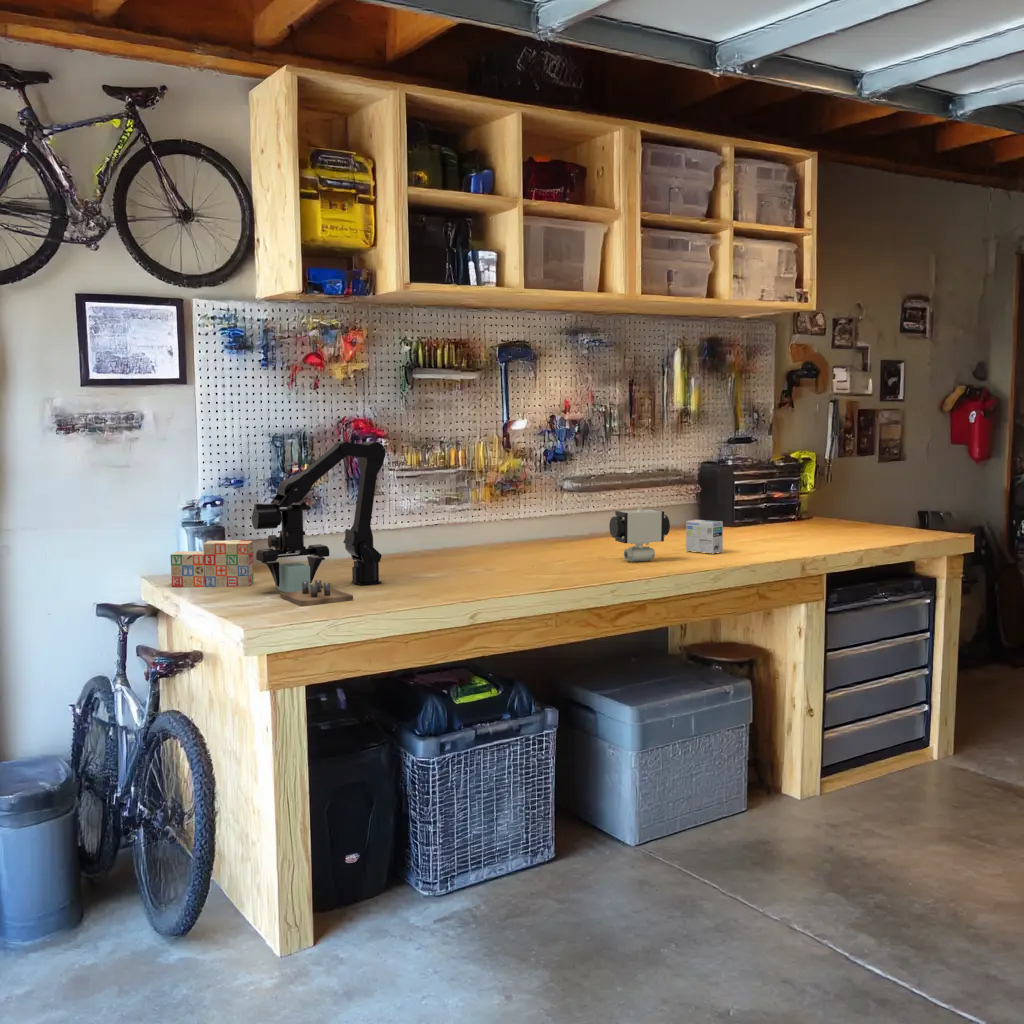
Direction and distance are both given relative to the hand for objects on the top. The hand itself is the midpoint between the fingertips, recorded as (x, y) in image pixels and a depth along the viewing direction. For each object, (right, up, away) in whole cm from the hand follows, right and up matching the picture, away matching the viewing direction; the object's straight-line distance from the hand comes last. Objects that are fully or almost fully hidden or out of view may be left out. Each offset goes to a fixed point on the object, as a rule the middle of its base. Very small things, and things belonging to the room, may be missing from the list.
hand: (294, 584), depth 273 cm
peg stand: (+8, -3, -12) cm, 15 cm away
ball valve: (+99, +4, +50) cm, 111 cm away
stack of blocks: (-24, -1, +9) cm, 26 cm away
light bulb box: (+123, +6, +69) cm, 142 cm away
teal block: (0, -2, 0) cm, 2 cm away
